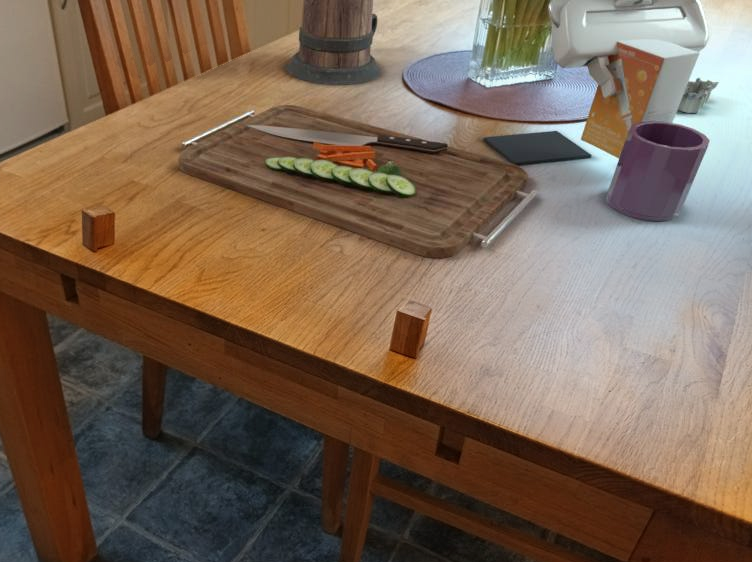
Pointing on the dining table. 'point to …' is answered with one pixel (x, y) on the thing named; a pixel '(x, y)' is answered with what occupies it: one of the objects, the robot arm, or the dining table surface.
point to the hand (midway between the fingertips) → (641, 93)
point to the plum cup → (656, 170)
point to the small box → (639, 90)
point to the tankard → (336, 42)
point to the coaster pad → (536, 147)
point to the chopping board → (360, 177)
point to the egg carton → (696, 95)
